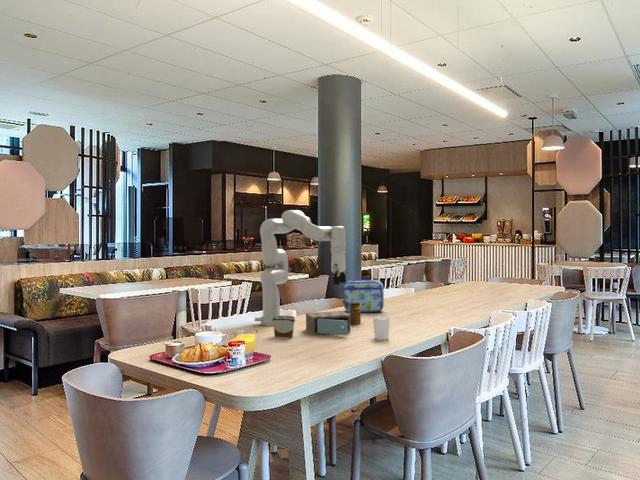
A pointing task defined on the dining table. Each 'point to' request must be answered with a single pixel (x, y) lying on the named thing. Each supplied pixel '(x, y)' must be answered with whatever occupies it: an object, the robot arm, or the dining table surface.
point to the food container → (283, 326)
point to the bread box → (335, 315)
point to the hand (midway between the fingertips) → (339, 283)
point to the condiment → (355, 314)
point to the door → (332, 326)
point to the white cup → (381, 328)
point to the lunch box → (364, 295)
